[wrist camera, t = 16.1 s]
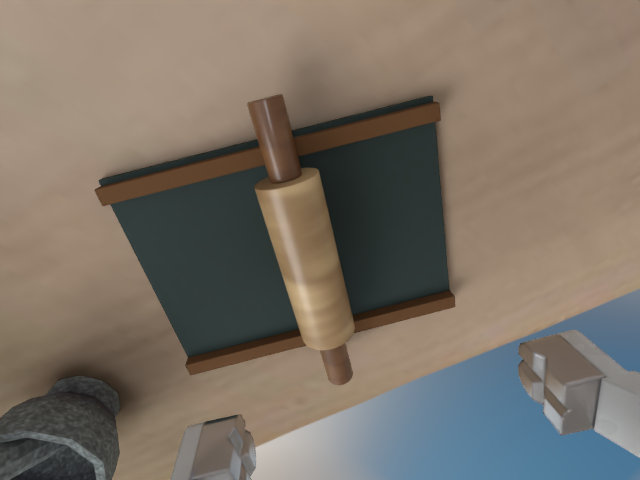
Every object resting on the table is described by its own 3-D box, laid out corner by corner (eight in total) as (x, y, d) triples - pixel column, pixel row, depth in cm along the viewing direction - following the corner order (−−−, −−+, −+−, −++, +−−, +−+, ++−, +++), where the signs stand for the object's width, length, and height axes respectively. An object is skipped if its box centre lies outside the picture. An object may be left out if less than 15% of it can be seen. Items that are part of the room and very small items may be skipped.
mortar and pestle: (161, 410, 34) (104, 566, 23) (83, 451, 35) (-7, 619, 24) (72, 331, 29) (-52, 478, 18) (-14, 380, 30) (-181, 547, 19)
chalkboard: (430, 95, 25) (439, 95, 23) (448, 301, 32) (455, 310, 31) (101, 178, 24) (90, 184, 23) (195, 366, 32) (191, 378, 31)
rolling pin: (298, 89, 23) (302, 89, 19) (359, 351, 32) (370, 388, 28) (233, 105, 23) (223, 109, 19) (313, 363, 32) (318, 402, 28)
